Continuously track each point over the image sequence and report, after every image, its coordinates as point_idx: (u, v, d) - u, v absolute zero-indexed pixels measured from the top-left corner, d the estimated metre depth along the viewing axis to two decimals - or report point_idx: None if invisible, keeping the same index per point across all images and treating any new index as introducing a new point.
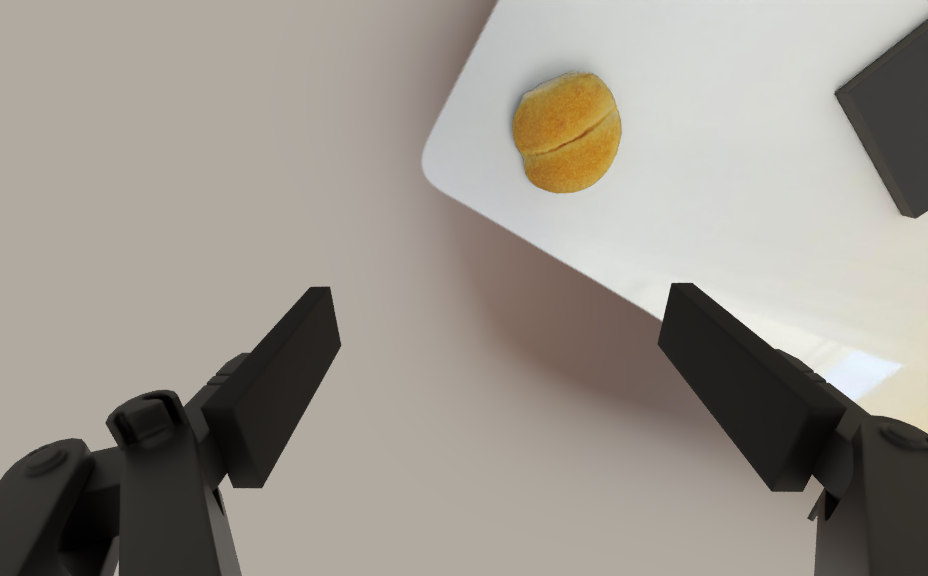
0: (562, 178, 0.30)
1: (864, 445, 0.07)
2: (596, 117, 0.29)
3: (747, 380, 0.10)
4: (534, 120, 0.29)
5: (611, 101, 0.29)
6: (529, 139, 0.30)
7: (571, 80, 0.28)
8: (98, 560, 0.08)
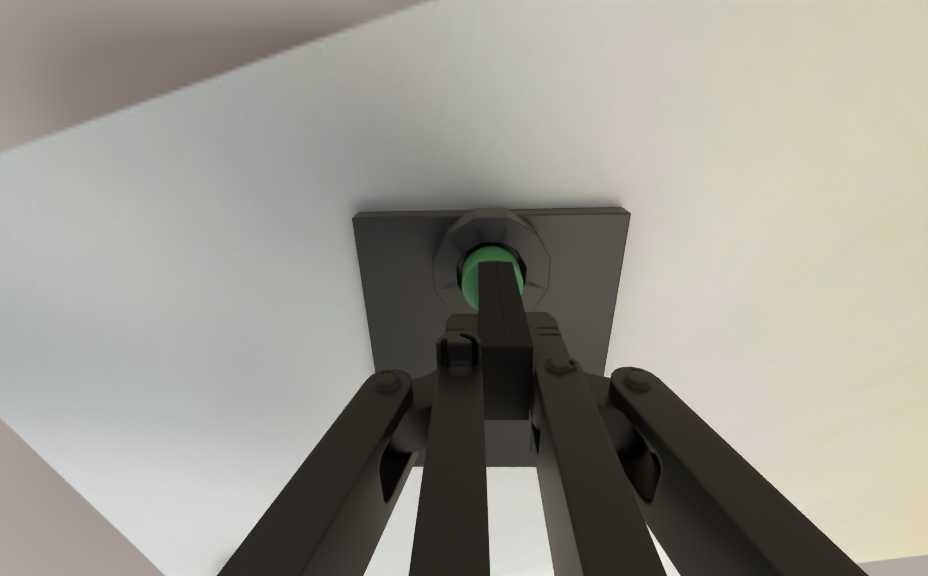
0: None
1: (540, 385, 0.09)
2: None
3: None
4: None
5: None
6: None
7: None
8: (395, 477, 0.09)
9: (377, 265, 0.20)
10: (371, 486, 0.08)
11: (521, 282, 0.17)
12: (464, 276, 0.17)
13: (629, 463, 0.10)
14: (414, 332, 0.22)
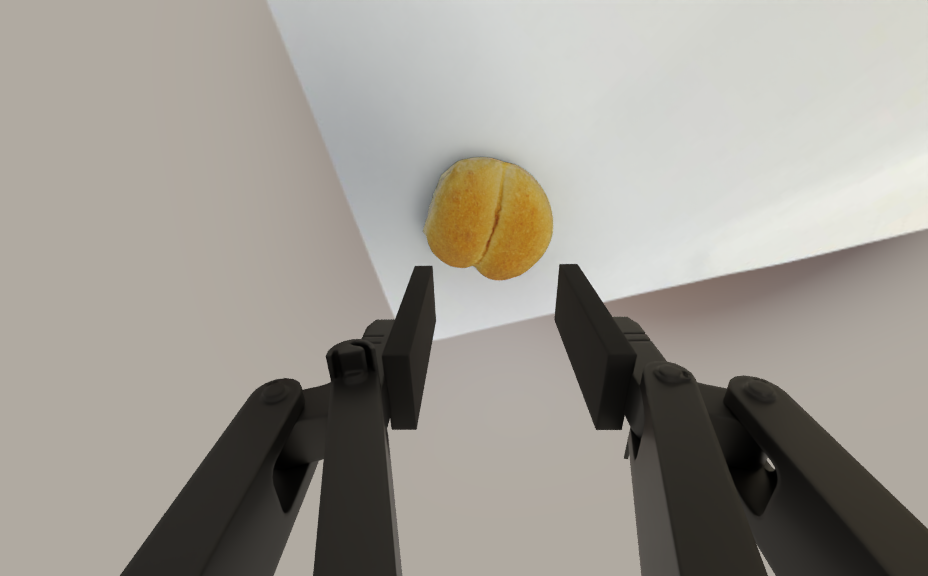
0: (515, 265, 0.26)
1: (647, 390, 0.09)
2: (492, 197, 0.25)
3: (587, 340, 0.12)
4: (445, 249, 0.26)
5: (494, 168, 0.25)
6: (458, 261, 0.27)
7: (443, 192, 0.25)
8: (294, 487, 0.09)
9: None
10: (265, 498, 0.08)
11: None
12: None
13: (739, 475, 0.09)
14: None
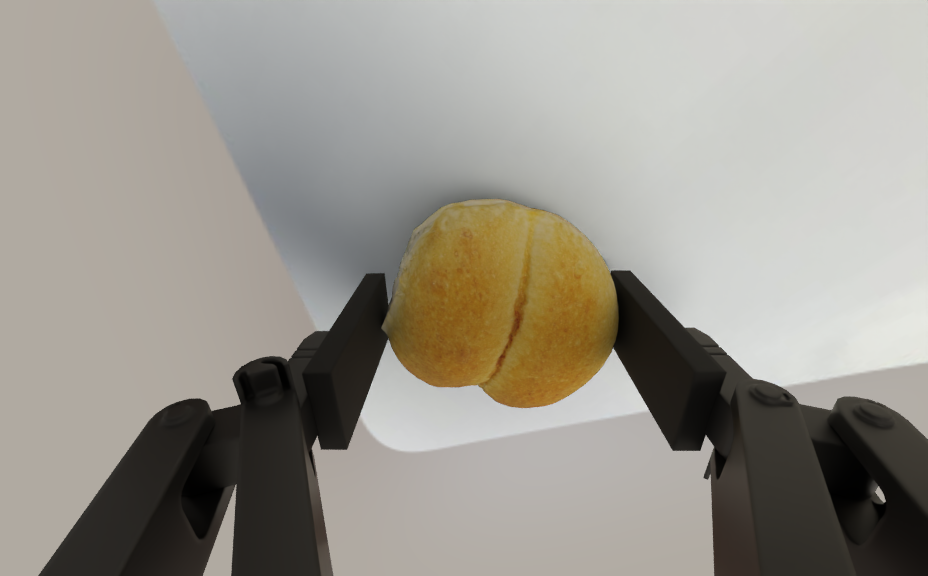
0: (551, 396, 0.14)
1: (739, 408, 0.08)
2: (510, 280, 0.13)
3: (657, 354, 0.11)
4: (421, 368, 0.14)
5: (514, 224, 0.13)
6: (446, 385, 0.15)
7: (415, 269, 0.13)
8: (210, 511, 0.09)
9: None
10: (174, 525, 0.07)
11: None
12: None
13: (839, 501, 0.09)
14: None
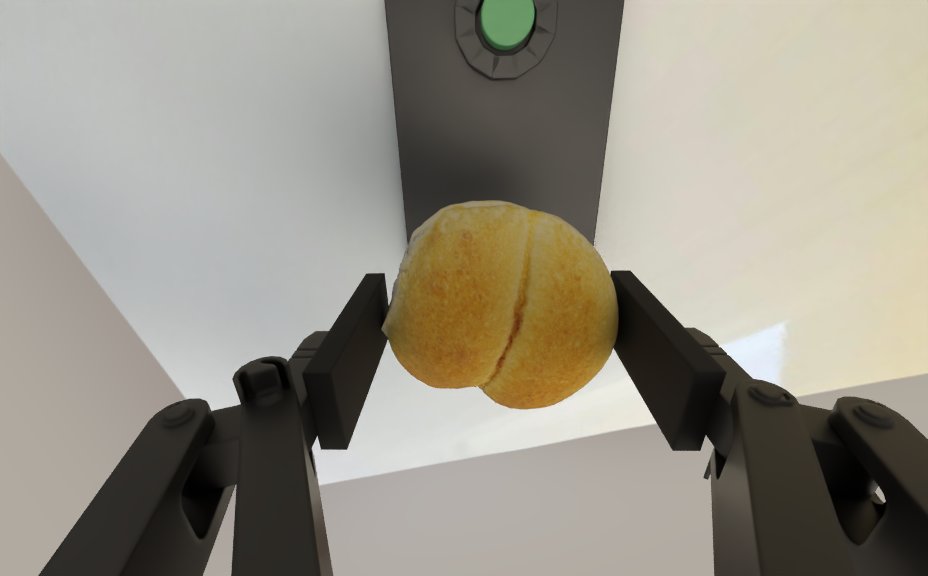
0: (551, 398, 0.14)
1: (739, 408, 0.08)
2: (510, 281, 0.13)
3: (658, 354, 0.11)
4: (421, 370, 0.14)
5: (514, 226, 0.13)
6: (445, 386, 0.15)
7: (414, 271, 0.13)
8: (210, 511, 0.09)
9: (404, 32, 0.23)
10: (174, 525, 0.07)
11: (532, 8, 0.20)
12: (483, 3, 0.20)
13: (840, 502, 0.08)
14: (435, 108, 0.25)
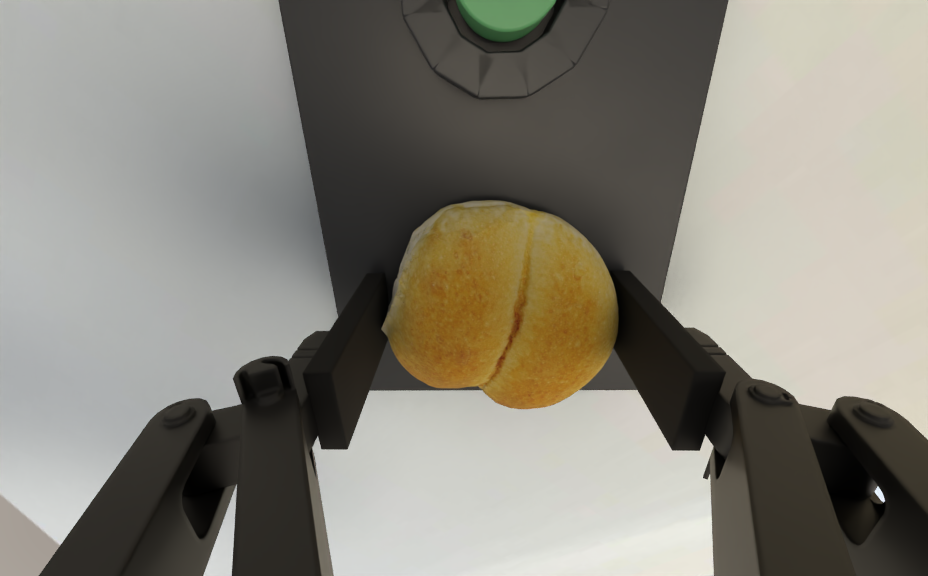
0: (551, 397, 0.14)
1: (739, 408, 0.08)
2: (510, 281, 0.13)
3: (657, 354, 0.11)
4: (421, 370, 0.14)
5: (514, 225, 0.13)
6: (445, 386, 0.15)
7: (415, 271, 0.13)
8: (210, 511, 0.09)
9: (310, 7, 0.12)
10: (174, 525, 0.07)
11: None
12: None
13: (838, 501, 0.09)
14: (378, 148, 0.14)
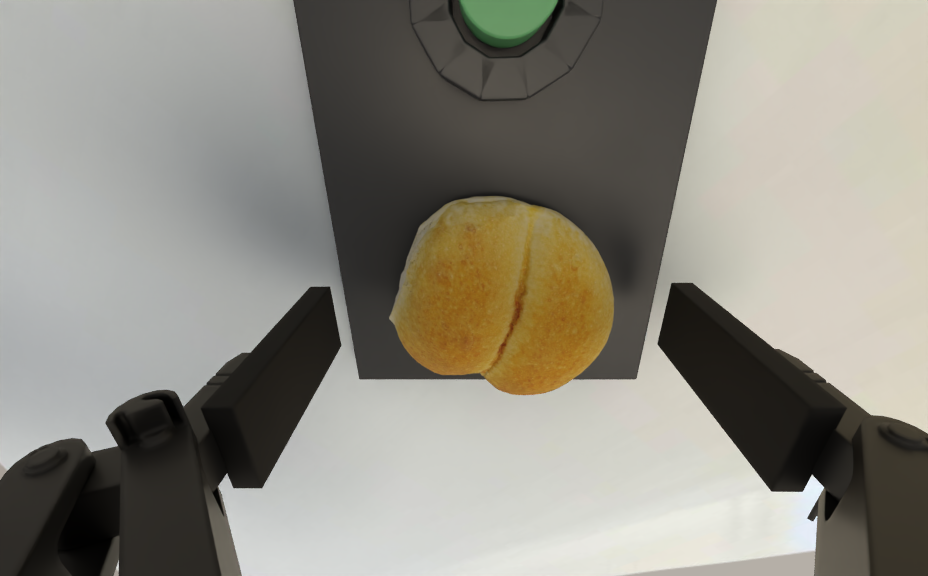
0: (549, 383, 0.15)
1: (864, 445, 0.07)
2: (511, 272, 0.13)
3: (747, 380, 0.10)
4: (427, 356, 0.15)
5: (514, 219, 0.14)
6: (450, 372, 0.16)
7: (421, 261, 0.14)
8: (98, 560, 0.08)
9: (324, 15, 0.13)
10: None
11: None
12: None
13: None
14: (386, 146, 0.15)
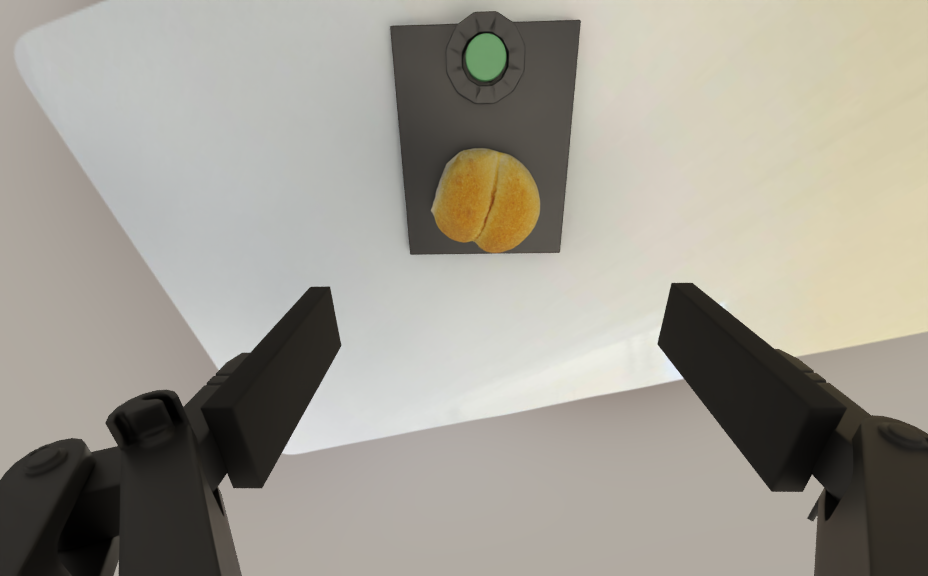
0: (508, 238, 0.31)
1: (864, 445, 0.07)
2: (489, 180, 0.30)
3: (747, 380, 0.10)
4: (450, 224, 0.31)
5: (491, 157, 0.30)
6: (461, 236, 0.32)
7: (448, 176, 0.30)
8: (98, 560, 0.08)
9: (406, 66, 0.29)
10: None
11: (504, 52, 0.26)
12: (467, 49, 0.26)
13: None
14: (431, 125, 0.31)
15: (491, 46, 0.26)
